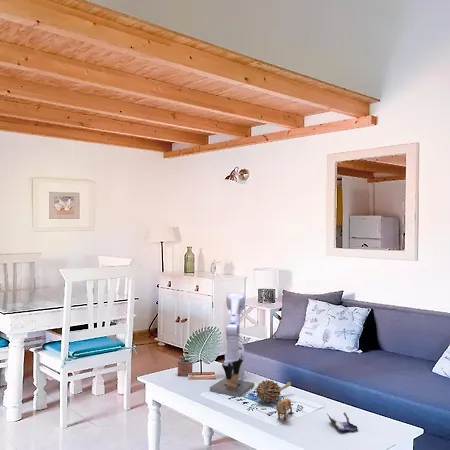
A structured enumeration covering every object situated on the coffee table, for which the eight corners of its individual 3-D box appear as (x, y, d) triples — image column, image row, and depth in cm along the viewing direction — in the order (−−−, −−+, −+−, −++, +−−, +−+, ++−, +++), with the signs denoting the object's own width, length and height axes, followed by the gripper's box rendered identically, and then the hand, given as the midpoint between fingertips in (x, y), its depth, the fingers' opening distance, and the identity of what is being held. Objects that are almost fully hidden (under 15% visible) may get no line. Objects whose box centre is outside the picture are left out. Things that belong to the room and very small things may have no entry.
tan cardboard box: (228, 387, 238) (228, 373, 238) (237, 389, 236) (238, 374, 236) (225, 389, 236) (226, 374, 235) (235, 390, 233) (235, 376, 233)
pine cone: (267, 409, 211) (267, 386, 211) (250, 403, 217) (250, 381, 217) (297, 396, 227) (297, 374, 227) (280, 391, 233) (280, 370, 233)
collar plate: (225, 381, 246) (225, 377, 246) (254, 386, 239) (254, 382, 239) (209, 391, 232) (209, 387, 232) (239, 397, 225) (239, 392, 225)
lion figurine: (288, 425, 195) (288, 402, 195) (274, 423, 196) (275, 401, 196) (293, 411, 209) (293, 390, 209) (281, 409, 210) (281, 389, 210)
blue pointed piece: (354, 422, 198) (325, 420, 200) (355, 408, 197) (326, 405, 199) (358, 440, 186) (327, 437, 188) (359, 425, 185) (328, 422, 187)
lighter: (193, 374, 257) (193, 356, 257) (192, 377, 253) (192, 357, 253) (178, 374, 258) (178, 355, 258) (176, 376, 254) (176, 357, 254)
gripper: (232, 344, 244) (232, 371, 244) (218, 351, 231) (217, 379, 231) (244, 346, 240) (244, 373, 241) (231, 353, 228) (231, 382, 228)
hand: (232, 376), depth 236 cm, fingers open, 7 cm apart
